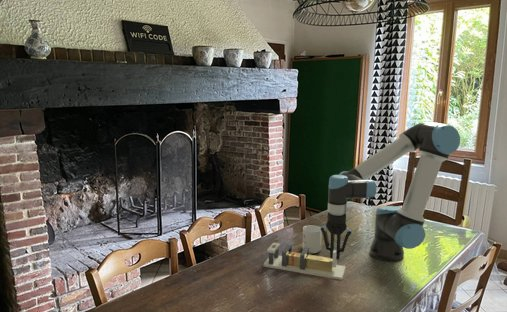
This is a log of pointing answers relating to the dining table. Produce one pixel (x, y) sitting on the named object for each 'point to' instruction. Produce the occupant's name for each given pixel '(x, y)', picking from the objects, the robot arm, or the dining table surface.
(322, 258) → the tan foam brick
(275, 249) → the collars
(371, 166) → the robot arm
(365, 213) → the dining table surface
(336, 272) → the slab
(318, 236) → the mug
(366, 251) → the dining table surface
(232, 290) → the dining table surface
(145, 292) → the dining table surface
